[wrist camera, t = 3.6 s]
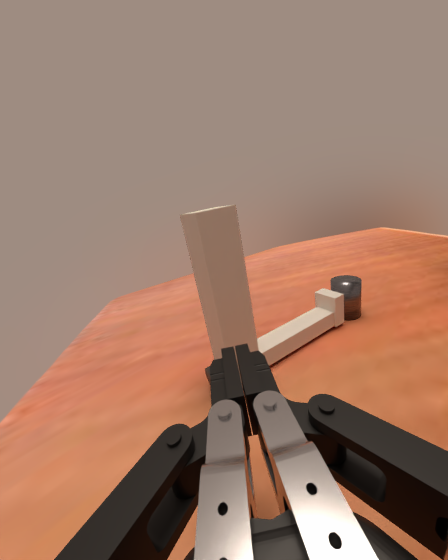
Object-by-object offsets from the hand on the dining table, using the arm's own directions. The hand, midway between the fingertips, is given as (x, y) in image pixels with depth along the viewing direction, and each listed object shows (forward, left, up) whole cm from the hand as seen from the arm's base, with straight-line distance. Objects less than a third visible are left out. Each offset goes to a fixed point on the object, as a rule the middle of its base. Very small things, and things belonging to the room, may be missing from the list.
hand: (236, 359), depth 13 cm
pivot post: (-23, 0, -10) cm, 25 cm away
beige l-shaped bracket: (-12, -4, -9) cm, 16 cm away
